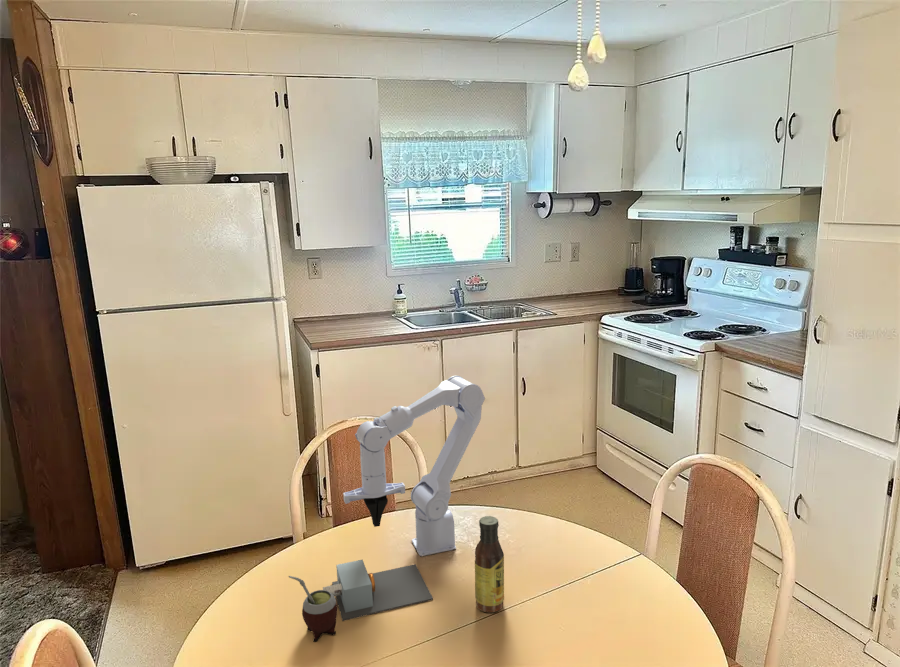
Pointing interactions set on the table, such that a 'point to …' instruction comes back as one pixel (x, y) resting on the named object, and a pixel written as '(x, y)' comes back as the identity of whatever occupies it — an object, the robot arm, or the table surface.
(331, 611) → the mate gourd
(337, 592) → the pin
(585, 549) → the table surface
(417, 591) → the mat
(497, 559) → the sauce bottle
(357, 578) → the block
